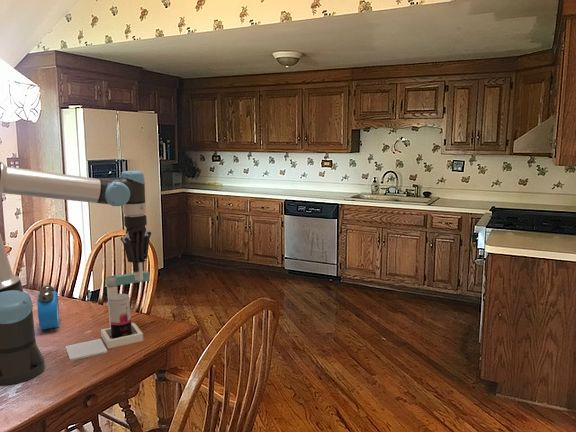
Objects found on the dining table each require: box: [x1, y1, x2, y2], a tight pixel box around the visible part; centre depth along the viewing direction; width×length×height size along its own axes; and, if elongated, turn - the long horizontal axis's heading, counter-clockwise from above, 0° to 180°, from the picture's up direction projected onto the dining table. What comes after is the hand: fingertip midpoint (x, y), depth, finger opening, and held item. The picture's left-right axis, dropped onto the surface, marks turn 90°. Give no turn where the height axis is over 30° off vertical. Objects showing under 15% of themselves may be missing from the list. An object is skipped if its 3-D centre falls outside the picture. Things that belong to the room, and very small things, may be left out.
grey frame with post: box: [100, 285, 144, 350], centre depth 168 cm, size 11×18×16 cm, turn 31°
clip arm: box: [105, 270, 150, 288], centre depth 175 cm, size 4×15×3 cm, turn 118°
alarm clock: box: [36, 284, 60, 331], centre depth 175 cm, size 13×6×15 cm, turn 23°
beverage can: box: [109, 293, 133, 339], centre depth 165 cm, size 6×7×15 cm
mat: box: [65, 338, 108, 362], centre depth 157 cm, size 11×11×1 cm
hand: (139, 279), depth 174 cm, fingers closed
